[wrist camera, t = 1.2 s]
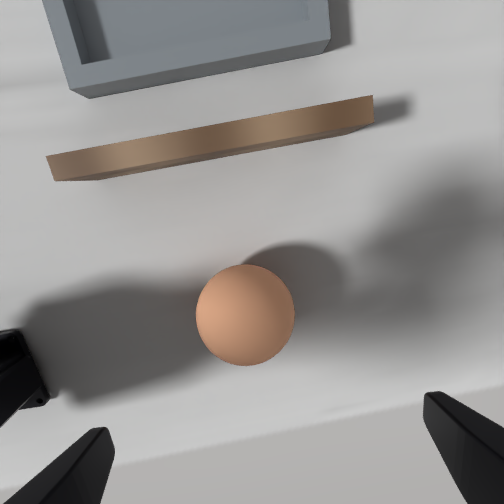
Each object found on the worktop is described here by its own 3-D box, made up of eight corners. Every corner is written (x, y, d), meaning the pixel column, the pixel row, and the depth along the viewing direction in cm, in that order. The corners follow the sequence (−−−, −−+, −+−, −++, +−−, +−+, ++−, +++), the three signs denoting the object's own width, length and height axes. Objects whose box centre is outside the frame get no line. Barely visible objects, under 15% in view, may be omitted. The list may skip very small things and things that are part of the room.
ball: (213, 336, 21) (200, 397, 15) (195, 261, 19) (173, 297, 13) (292, 323, 21) (310, 380, 15) (280, 246, 19) (295, 276, 13)
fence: (97, 180, 18) (54, 181, 14) (91, 160, 17) (45, 156, 13) (345, 134, 17) (374, 122, 13) (343, 113, 17) (372, 94, 13)
